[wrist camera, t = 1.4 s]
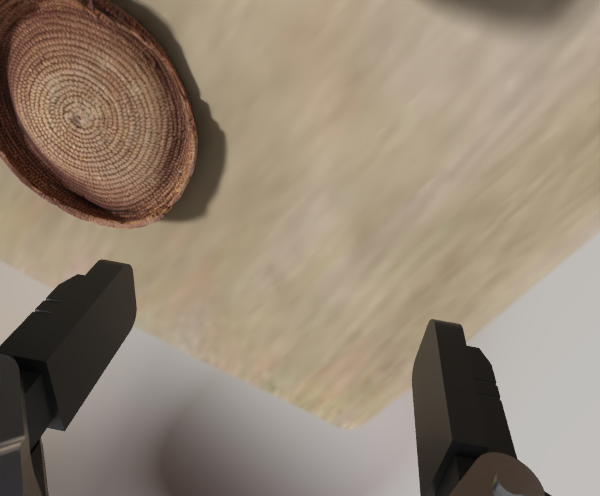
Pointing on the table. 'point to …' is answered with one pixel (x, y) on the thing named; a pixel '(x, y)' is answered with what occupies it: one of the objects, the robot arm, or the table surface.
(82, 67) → the basket
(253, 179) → the table surface
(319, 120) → the table surface
